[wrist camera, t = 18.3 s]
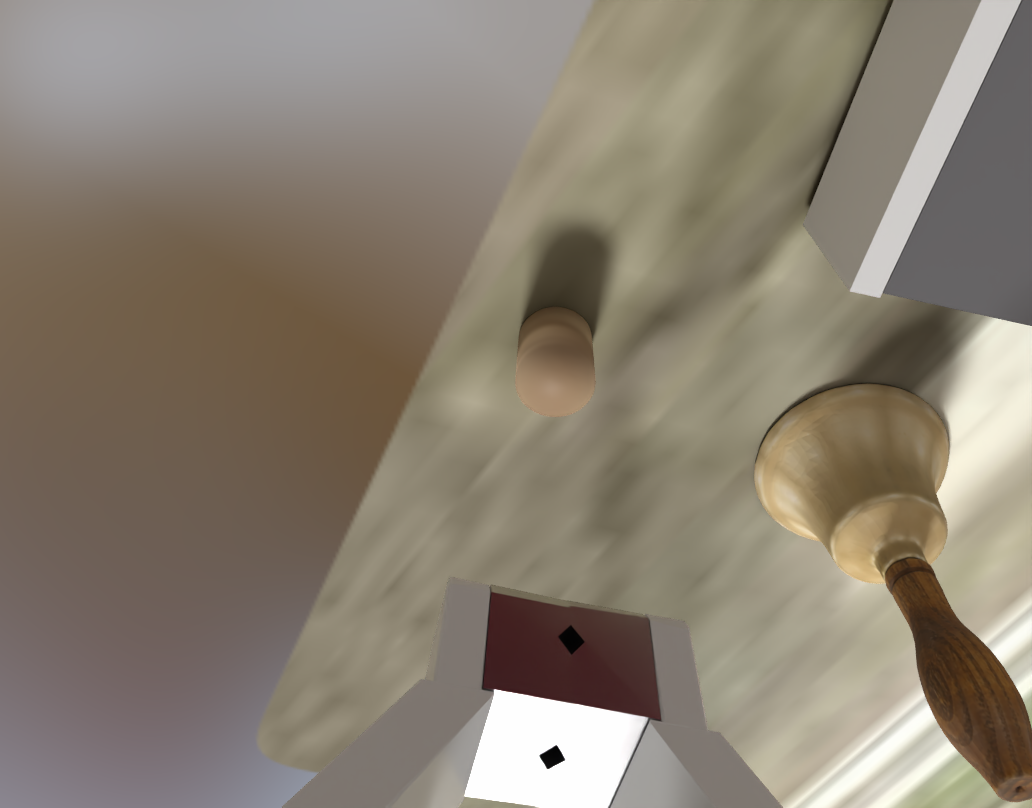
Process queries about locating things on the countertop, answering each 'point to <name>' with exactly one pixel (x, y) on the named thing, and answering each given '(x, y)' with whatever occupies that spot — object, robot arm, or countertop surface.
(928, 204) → the block
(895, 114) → the white drawer
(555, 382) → the post
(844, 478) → the hand bell
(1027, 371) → the countertop surface
